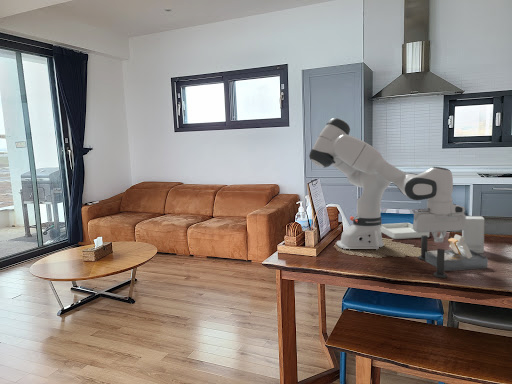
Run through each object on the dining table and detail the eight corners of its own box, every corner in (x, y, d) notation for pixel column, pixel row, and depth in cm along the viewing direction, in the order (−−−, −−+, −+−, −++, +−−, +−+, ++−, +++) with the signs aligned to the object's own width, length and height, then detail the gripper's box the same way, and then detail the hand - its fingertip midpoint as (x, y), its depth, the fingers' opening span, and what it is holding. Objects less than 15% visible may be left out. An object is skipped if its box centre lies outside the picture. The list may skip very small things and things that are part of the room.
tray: (394, 239, 189) (394, 233, 189) (376, 229, 211) (376, 224, 211) (429, 237, 191) (429, 231, 190) (408, 227, 213) (408, 222, 212)
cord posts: (435, 277, 134) (436, 251, 133) (417, 257, 159) (417, 234, 158) (448, 278, 134) (449, 251, 132) (427, 257, 158) (428, 234, 157)
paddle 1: (454, 249, 151) (461, 236, 150) (448, 246, 155) (455, 234, 154) (458, 251, 151) (465, 238, 150) (452, 248, 155) (459, 235, 154)
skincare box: (482, 250, 166) (483, 216, 164) (484, 254, 160) (485, 219, 158) (460, 248, 169) (462, 215, 167) (462, 252, 163) (463, 218, 161)
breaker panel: (443, 271, 141) (443, 259, 140) (424, 260, 154) (425, 250, 153) (487, 268, 143) (487, 256, 142) (465, 258, 155) (465, 247, 155)
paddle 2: (468, 258, 141) (462, 245, 140) (461, 255, 145) (455, 243, 144) (472, 256, 141) (466, 243, 140) (465, 253, 145) (459, 240, 144)
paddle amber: (460, 255, 146) (453, 242, 145) (454, 252, 150) (447, 239, 149) (464, 252, 146) (457, 240, 145) (457, 249, 150) (451, 237, 149)
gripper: (418, 210, 141) (417, 245, 142) (469, 207, 142) (467, 242, 144) (410, 207, 147) (409, 241, 149) (458, 205, 148) (457, 238, 150)
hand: (438, 242), depth 146 cm, fingers closed
